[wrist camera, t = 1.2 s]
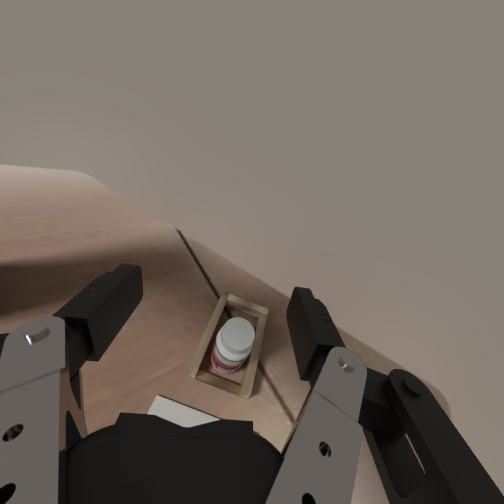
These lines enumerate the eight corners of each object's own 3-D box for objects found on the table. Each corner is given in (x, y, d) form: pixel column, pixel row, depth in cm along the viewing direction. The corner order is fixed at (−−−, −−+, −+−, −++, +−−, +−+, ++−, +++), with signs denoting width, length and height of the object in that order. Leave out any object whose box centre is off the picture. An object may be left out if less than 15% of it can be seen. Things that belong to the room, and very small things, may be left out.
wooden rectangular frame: (186, 375, 27) (186, 370, 25) (221, 297, 36) (222, 291, 35) (246, 398, 27) (250, 395, 25) (265, 314, 36) (269, 309, 35)
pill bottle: (227, 333, 32) (239, 307, 26) (248, 358, 30) (265, 334, 25) (203, 354, 29) (210, 329, 23) (224, 383, 27) (238, 363, 22)
